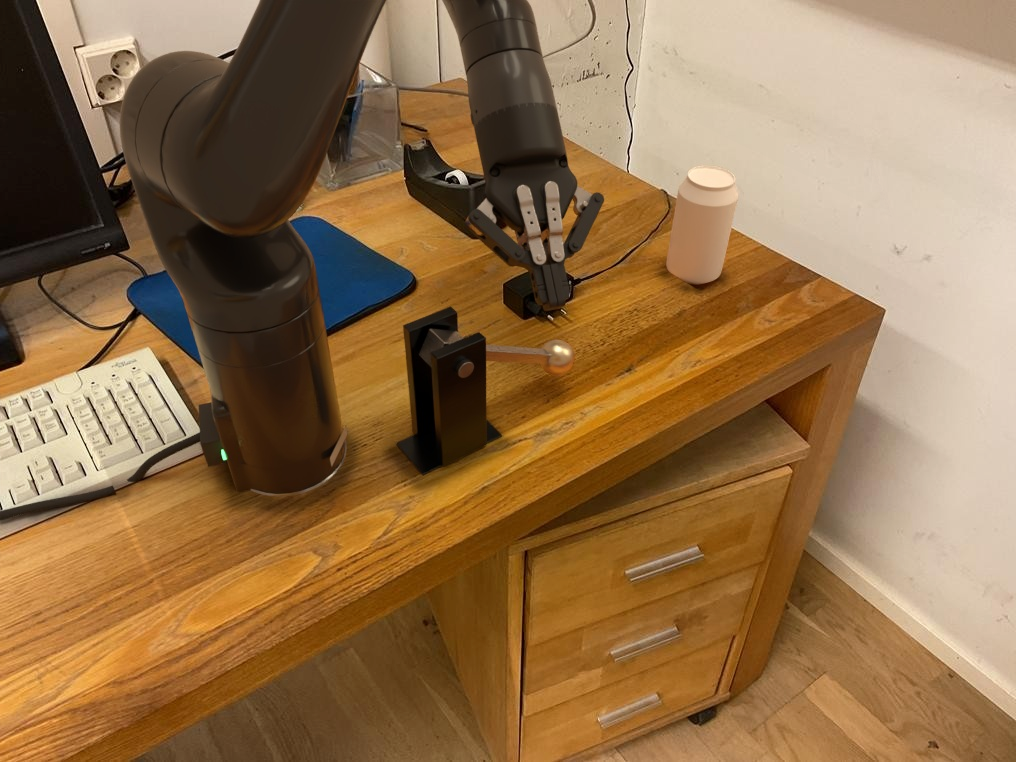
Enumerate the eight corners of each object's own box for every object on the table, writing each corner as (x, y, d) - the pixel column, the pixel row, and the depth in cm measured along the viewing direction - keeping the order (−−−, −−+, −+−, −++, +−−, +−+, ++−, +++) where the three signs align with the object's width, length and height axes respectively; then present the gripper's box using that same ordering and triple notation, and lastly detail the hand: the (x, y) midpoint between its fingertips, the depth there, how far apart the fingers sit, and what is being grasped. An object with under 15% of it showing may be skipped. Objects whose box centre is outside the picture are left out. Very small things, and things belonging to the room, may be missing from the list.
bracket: (469, 411, 74) (466, 295, 65) (507, 449, 70) (509, 332, 62) (392, 447, 70) (378, 329, 62) (428, 490, 67) (419, 371, 58)
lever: (550, 363, 75) (564, 333, 74) (572, 382, 73) (587, 352, 72) (413, 355, 64) (427, 320, 62) (434, 377, 62) (450, 341, 60)
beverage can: (665, 256, 94) (681, 159, 86) (719, 262, 93) (740, 165, 85) (663, 285, 89) (680, 187, 82) (720, 292, 89) (743, 193, 81)
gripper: (449, 107, 66) (491, 313, 66) (598, 91, 70) (640, 287, 69) (436, 142, 74) (474, 328, 73) (571, 126, 77) (609, 304, 76)
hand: (555, 308), depth 71 cm, fingers closed
